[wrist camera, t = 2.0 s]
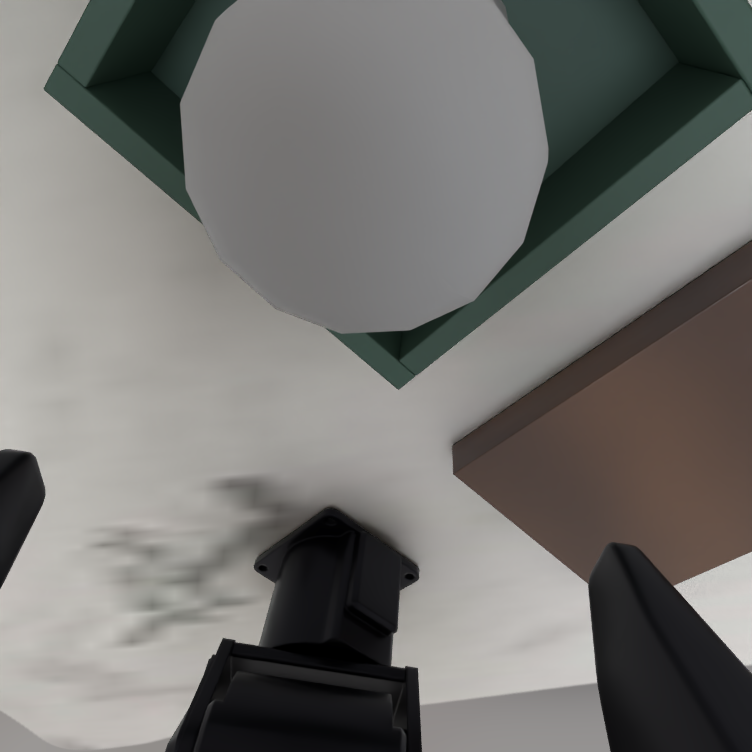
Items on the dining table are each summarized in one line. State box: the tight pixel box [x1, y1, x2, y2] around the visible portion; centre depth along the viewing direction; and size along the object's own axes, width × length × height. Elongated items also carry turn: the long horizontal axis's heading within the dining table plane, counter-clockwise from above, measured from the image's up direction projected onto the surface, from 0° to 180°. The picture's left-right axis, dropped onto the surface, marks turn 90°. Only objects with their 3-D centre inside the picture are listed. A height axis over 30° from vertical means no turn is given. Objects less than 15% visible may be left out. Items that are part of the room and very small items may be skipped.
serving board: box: [452, 241, 752, 586], centre depth 22 cm, size 20×12×2 cm, turn 136°
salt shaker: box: [180, 0, 549, 334], centre depth 11 cm, size 6×6×13 cm
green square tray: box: [44, 0, 752, 389], centre depth 15 cm, size 13×13×4 cm
